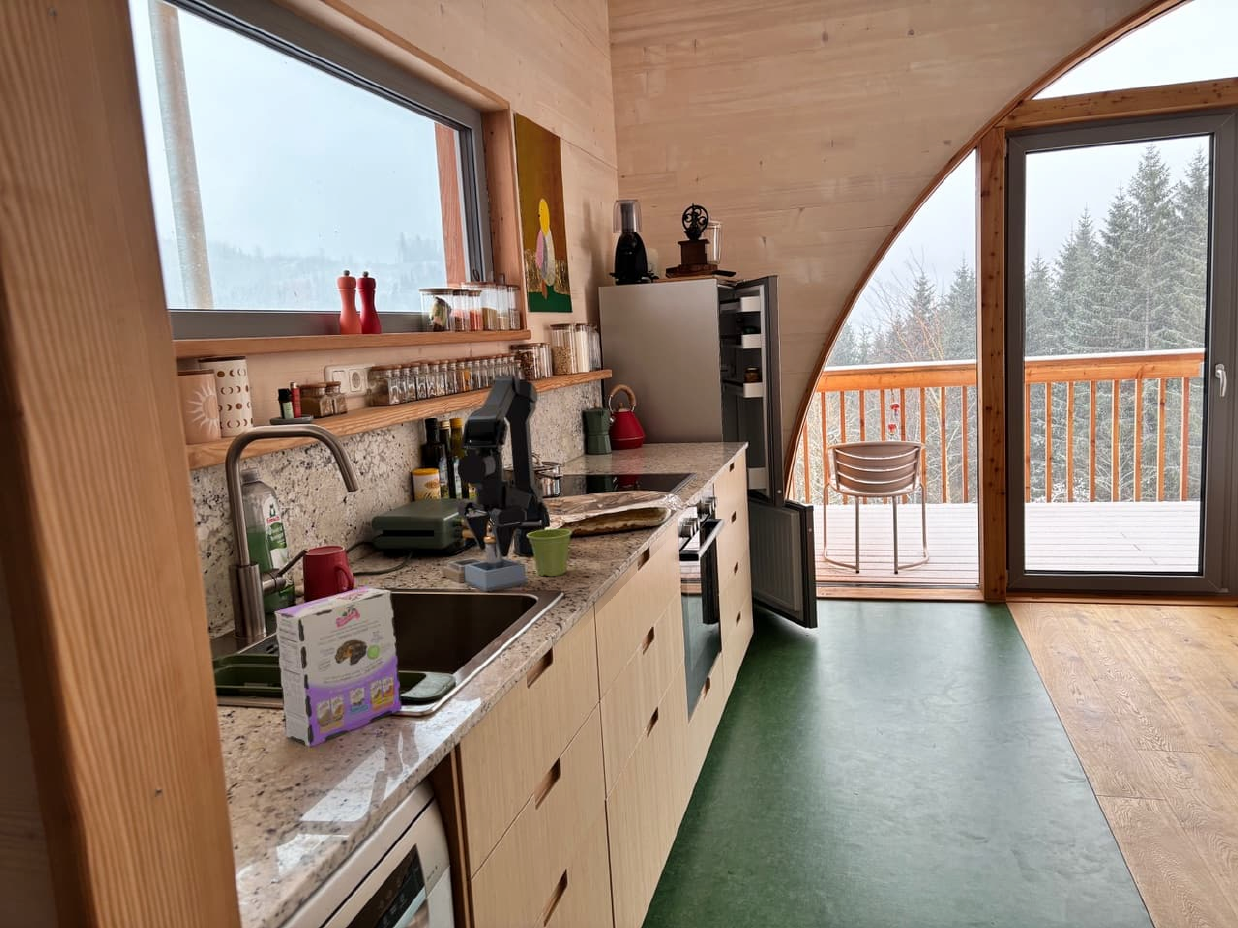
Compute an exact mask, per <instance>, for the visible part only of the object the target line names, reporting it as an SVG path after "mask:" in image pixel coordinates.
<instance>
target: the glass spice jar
mask: <svg viewBox="0 0 1238 928" xmlns="http://www.w3.org/2000/svg"><path fill="white" fill-rule="evenodd" d="M484 543H485V548H486V549H485V559H486V560H485V561H486V563H487V571H489V570H494V569H499V568H503V563H502V558H503V557H502V555H501V553H500V550H499V548H498V545H497V542H496V539H495V536H494V534H489V535H488V534H487V536H484Z"/></svg>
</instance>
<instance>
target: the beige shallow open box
mask: <svg viewBox="0 0 1238 928" xmlns="http://www.w3.org/2000/svg"><path fill="white" fill-rule="evenodd" d="M483 561H484V560H482V559H479V558H475V557H470V558H464V559H461V560H460V559H459V560H454V561H448V562H447V563H448V565H446V566H442V569H441V571H442V577H444V578H447V579H449V580H452V581H454V582H456V583H466V576H465V565H467V564H472V563H478V562H483Z"/></svg>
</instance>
